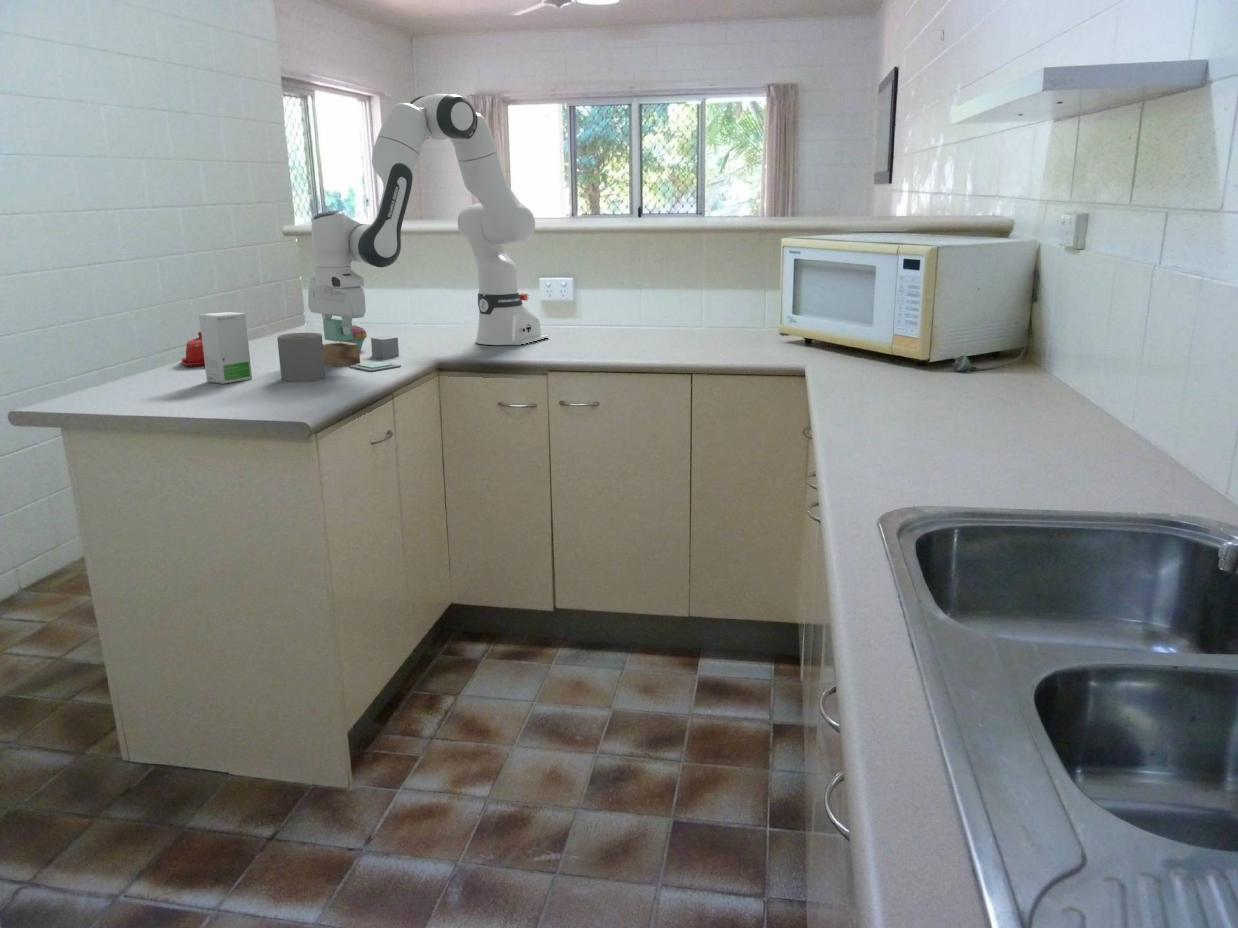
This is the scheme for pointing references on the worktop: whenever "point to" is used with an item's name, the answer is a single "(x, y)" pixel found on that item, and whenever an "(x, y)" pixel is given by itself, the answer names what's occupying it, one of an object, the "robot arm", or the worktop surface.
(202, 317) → the skincare box
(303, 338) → the coffee mug
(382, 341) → the grey block
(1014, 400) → the worktop surface
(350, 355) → the walnut block
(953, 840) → the worktop surface
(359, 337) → the cupcake
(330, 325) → the teal block
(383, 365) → the tile
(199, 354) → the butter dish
